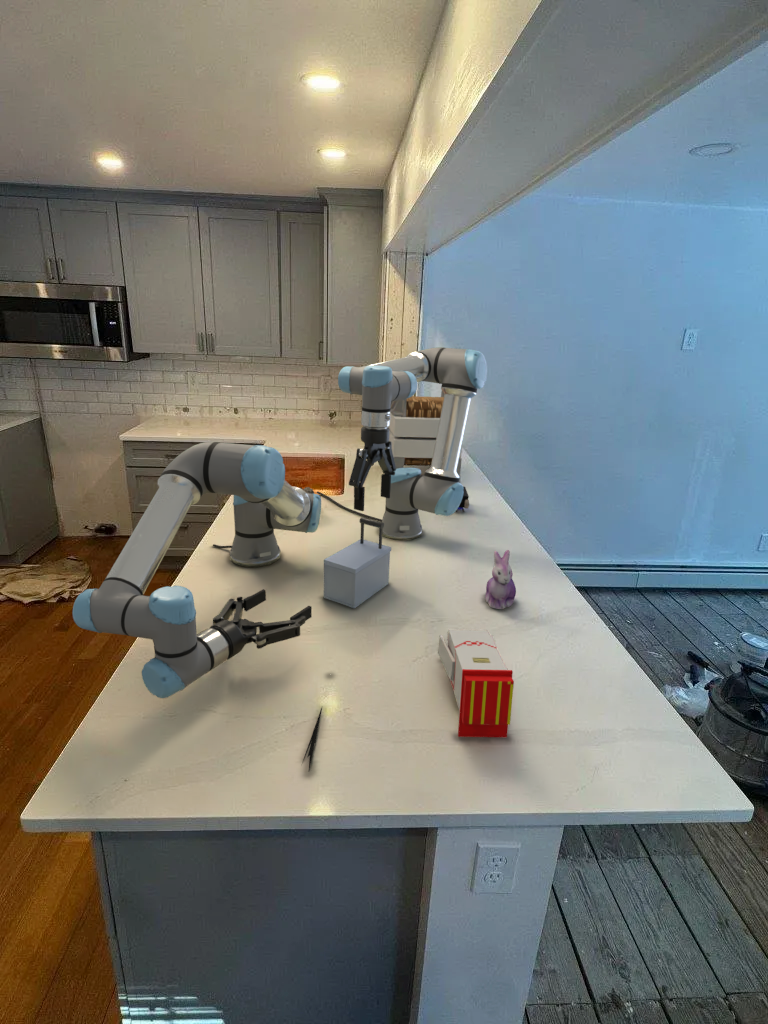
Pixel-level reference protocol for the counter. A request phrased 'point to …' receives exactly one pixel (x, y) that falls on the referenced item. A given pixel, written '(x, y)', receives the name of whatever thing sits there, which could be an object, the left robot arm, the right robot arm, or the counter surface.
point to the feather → (313, 740)
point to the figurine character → (464, 501)
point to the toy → (478, 682)
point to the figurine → (501, 583)
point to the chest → (356, 582)
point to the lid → (359, 551)
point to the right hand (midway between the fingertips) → (372, 503)
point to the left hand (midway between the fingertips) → (287, 602)
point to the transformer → (415, 430)
